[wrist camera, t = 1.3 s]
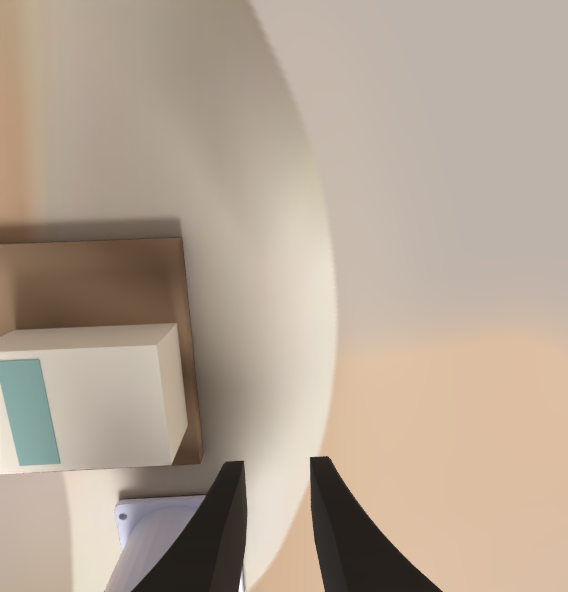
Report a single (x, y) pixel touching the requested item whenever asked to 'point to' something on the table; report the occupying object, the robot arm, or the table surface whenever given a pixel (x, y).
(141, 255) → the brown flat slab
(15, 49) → the table surface
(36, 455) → the carton
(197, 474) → the table surface
